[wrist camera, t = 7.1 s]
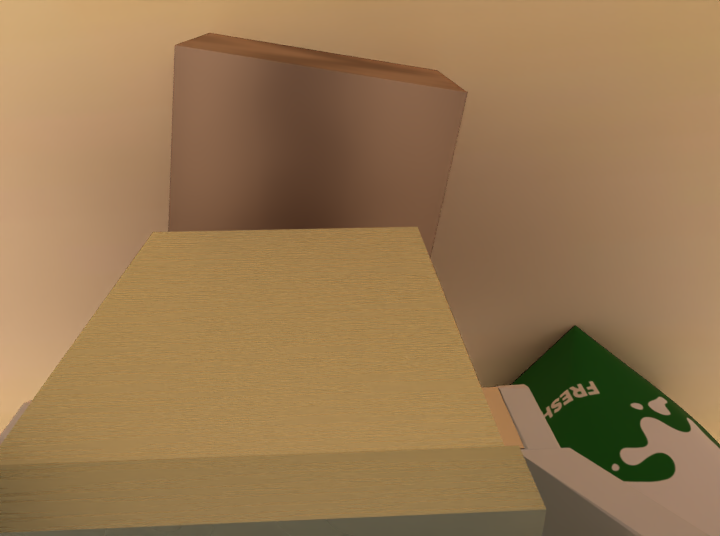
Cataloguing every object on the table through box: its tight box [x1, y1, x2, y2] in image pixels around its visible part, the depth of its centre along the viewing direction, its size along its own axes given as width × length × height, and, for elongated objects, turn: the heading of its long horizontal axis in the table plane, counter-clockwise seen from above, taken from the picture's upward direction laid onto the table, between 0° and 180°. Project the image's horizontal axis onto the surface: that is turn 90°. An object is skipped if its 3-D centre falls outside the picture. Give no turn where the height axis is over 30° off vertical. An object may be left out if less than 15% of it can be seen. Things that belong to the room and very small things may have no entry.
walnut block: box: [169, 33, 468, 257], centre depth 23 cm, size 9×9×6 cm
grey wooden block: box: [0, 227, 546, 536], centre depth 9 cm, size 5×5×7 cm
